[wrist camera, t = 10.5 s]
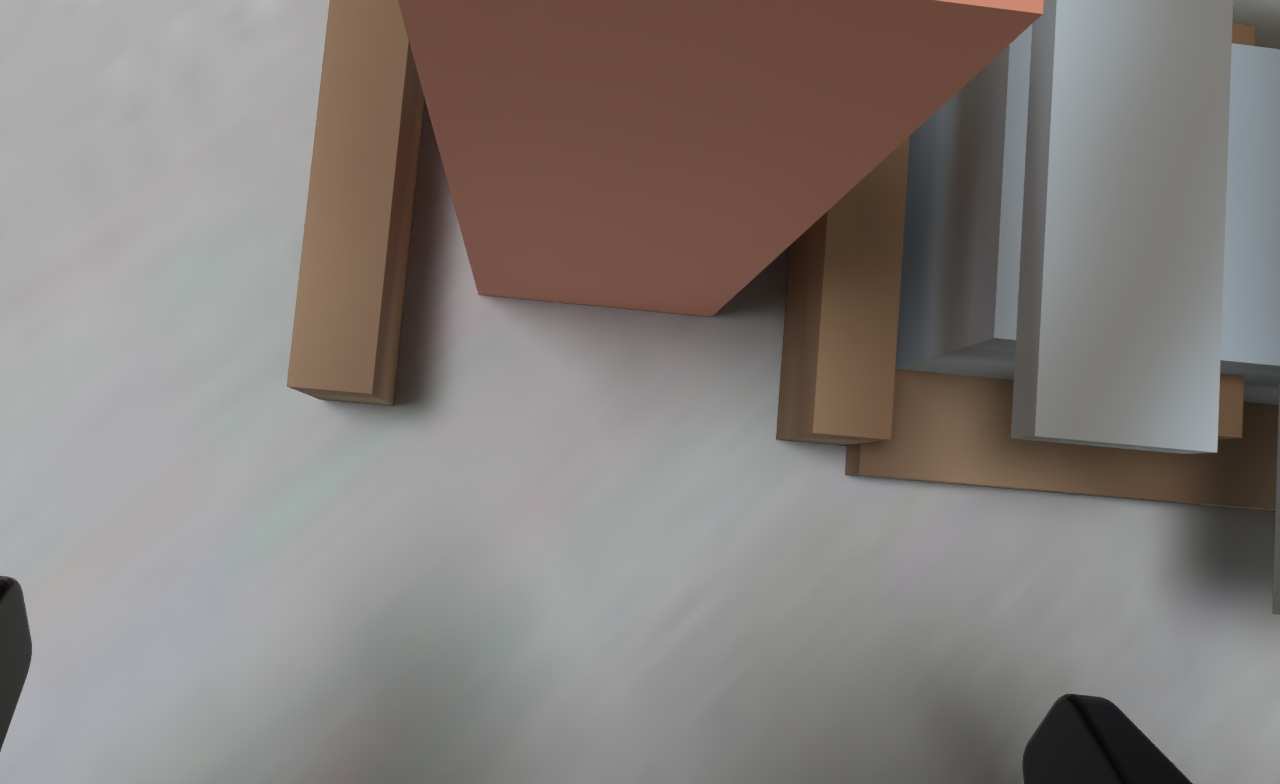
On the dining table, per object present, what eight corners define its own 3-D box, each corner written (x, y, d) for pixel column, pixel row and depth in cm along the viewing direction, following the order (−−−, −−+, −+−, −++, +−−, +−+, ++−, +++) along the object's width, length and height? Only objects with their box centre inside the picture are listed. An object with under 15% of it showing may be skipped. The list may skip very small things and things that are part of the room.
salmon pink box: (711, 317, 19) (1042, 15, 7) (478, 293, 19) (378, -71, 6) (724, 147, 19) (1065, -440, 7) (494, 122, 19) (430, -548, 7)
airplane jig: (306, 520, 18) (192, 539, 12) (375, -119, 19) (303, -402, 13) (1582, 619, 20) (2040, 679, 14) (1585, 38, 21) (2014, -142, 15)
